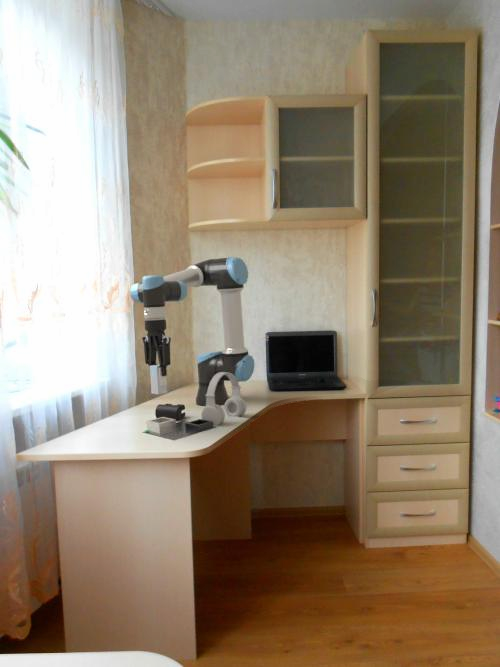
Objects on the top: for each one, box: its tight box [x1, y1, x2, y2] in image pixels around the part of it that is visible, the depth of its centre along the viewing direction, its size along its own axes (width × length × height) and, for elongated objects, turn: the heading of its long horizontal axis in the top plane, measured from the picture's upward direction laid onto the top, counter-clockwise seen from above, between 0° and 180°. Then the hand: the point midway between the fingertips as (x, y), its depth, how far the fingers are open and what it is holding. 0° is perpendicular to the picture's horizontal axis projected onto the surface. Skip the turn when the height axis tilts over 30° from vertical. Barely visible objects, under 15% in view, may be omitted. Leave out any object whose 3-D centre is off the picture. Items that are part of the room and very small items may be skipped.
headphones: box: [201, 372, 247, 427], centre depth 199 cm, size 20×8×19 cm, turn 149°
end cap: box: [154, 403, 186, 422], centre depth 204 cm, size 10×7×7 cm
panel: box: [141, 417, 217, 441], centre depth 187 cm, size 20×18×5 cm
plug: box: [149, 363, 168, 395], centre depth 184 cm, size 4×4×10 cm
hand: (158, 384), depth 184 cm, fingers closed on plug, 4 cm apart
